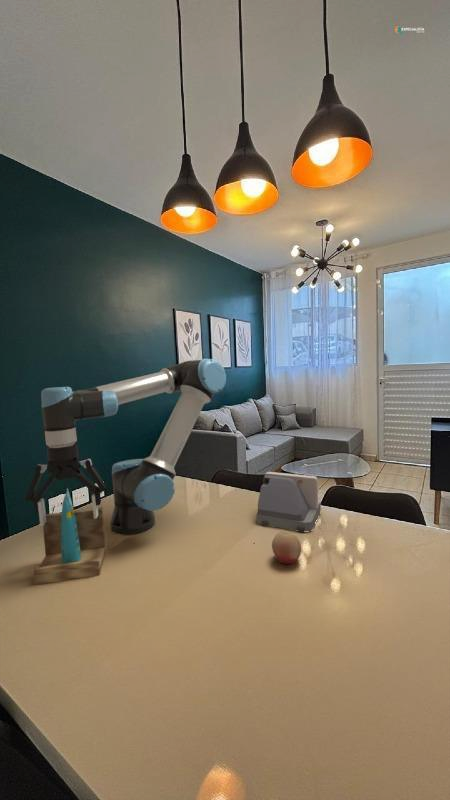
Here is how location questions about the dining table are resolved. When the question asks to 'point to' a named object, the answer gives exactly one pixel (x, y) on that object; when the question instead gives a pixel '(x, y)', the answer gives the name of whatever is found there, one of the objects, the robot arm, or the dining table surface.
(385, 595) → the dining table surface
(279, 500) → the instant camera
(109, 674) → the dining table surface
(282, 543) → the fruit
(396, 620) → the dining table surface
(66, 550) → the tube
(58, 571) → the brown piece
